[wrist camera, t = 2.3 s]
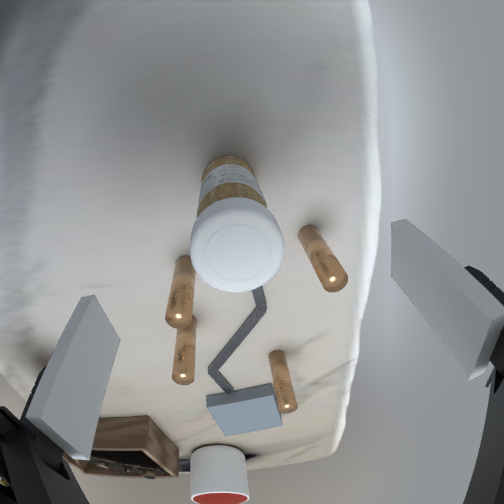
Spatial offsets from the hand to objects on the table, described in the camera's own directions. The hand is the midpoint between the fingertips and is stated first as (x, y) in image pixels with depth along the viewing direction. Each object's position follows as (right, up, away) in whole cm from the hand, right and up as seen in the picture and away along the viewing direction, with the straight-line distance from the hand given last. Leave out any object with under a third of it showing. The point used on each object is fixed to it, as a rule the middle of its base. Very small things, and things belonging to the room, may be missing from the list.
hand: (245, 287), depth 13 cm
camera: (-23, -31, +32) cm, 50 cm away
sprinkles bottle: (-2, +8, +14) cm, 16 cm away
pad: (-1, -21, +29) cm, 36 cm away
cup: (-6, -36, +37) cm, 52 cm away
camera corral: (-24, -31, +32) cm, 51 cm away
